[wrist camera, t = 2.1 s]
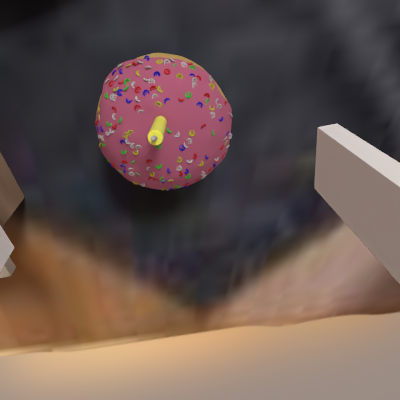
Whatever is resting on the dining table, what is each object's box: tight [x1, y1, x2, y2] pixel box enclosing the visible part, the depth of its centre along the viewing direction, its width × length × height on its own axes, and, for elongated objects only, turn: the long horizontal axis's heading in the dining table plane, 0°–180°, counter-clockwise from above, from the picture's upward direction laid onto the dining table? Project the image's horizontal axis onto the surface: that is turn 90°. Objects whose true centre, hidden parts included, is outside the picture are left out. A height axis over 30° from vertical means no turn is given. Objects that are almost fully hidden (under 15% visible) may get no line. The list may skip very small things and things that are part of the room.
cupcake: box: [95, 53, 233, 191], centre depth 18 cm, size 9×8×12 cm
